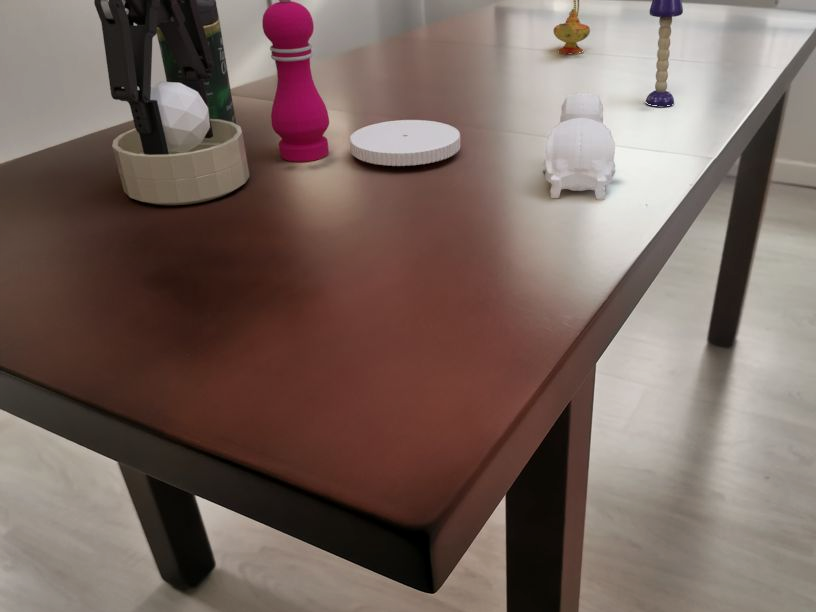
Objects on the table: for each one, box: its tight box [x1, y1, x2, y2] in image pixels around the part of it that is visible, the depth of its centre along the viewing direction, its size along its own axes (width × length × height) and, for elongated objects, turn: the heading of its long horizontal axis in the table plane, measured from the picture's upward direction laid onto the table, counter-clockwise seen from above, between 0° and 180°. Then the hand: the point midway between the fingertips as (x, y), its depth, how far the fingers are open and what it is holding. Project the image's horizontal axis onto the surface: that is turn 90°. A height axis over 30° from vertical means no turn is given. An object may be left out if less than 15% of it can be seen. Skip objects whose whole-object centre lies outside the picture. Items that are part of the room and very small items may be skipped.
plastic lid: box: [349, 119, 461, 167], centre depth 103 cm, size 14×14×2 cm
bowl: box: [111, 119, 250, 206], centre depth 94 cm, size 14×14×6 cm
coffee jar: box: [156, 0, 237, 124], centre depth 108 cm, size 10×8×19 cm
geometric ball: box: [150, 81, 210, 152], centre depth 91 cm, size 8×8×8 cm
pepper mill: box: [262, 0, 330, 163], centre depth 99 cm, size 7×7×20 cm
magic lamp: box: [552, 0, 591, 55], centre depth 149 cm, size 7×18×11 cm, turn 165°
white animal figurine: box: [542, 91, 616, 201], centre depth 93 cm, size 8×8×15 cm
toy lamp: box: [644, 0, 684, 108], centre depth 117 cm, size 5×5×17 cm
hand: (180, 147), depth 93 cm, fingers closed on geometric ball, 8 cm apart
